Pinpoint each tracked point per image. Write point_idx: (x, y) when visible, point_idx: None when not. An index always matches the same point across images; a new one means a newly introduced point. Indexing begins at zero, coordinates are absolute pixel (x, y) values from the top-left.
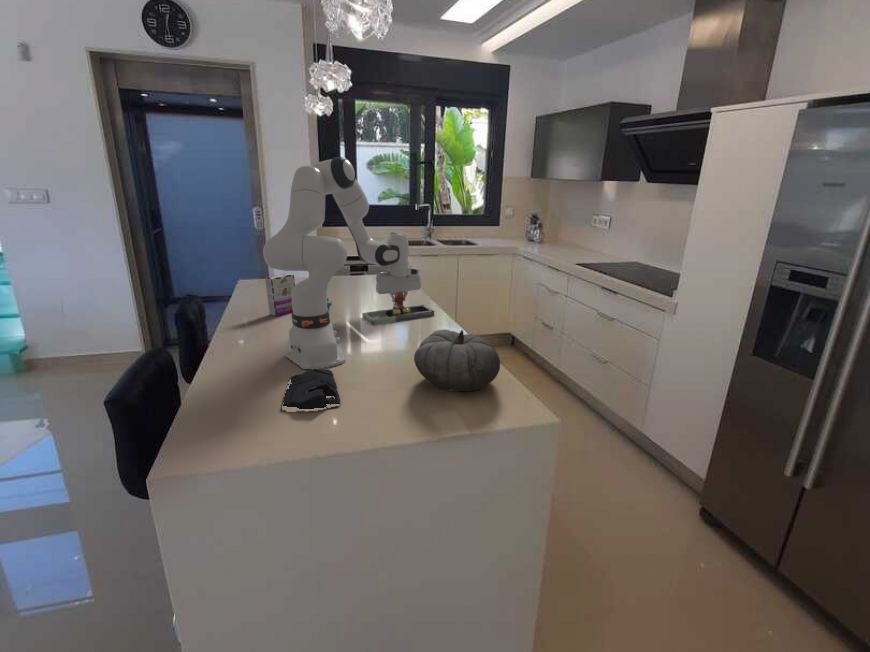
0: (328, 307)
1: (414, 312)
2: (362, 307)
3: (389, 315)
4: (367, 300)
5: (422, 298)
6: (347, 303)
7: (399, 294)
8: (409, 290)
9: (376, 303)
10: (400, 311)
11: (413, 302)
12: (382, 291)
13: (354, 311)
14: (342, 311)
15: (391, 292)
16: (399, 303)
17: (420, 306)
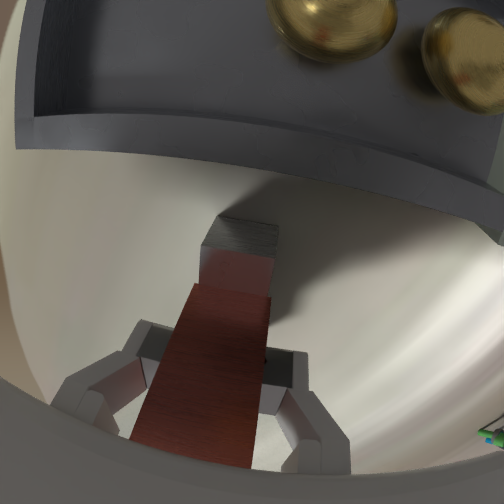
0: (501, 429)
1: (168, 66)
2: (386, 422)
3: (473, 158)
4: (283, 461)
5: (27, 350)
6: (378, 461)
7: (210, 420)
8: (22, 394)
9: (278, 434)
10: (455, 12)
11: (71, 342)
12: (499, 482)
13: (465, 391)
14: (484, 404)
15: (373, 480)
16: (237, 312)
17: (51, 115)
